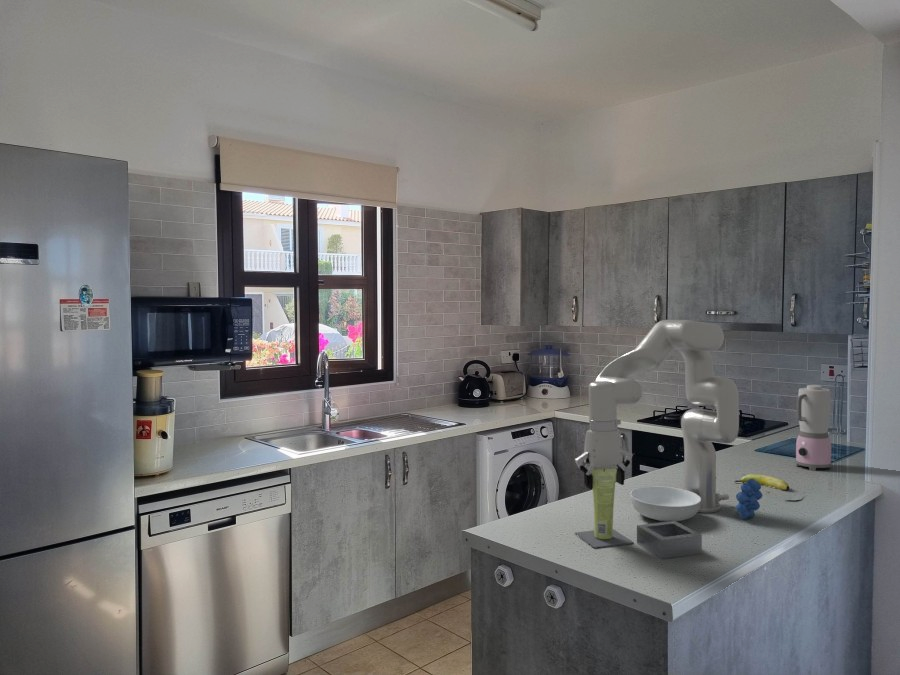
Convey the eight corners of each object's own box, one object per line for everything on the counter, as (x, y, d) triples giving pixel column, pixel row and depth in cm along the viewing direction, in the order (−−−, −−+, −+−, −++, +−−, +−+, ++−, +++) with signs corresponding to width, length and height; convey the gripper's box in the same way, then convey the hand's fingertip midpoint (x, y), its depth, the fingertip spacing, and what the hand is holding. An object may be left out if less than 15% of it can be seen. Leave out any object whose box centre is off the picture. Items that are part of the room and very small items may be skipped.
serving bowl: (654, 532, 195) (654, 508, 195) (617, 510, 215) (617, 489, 215) (716, 524, 201) (716, 501, 200) (674, 504, 221) (674, 483, 220)
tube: (601, 532, 194) (601, 465, 193) (617, 536, 191) (617, 468, 190) (590, 537, 190) (590, 469, 189) (606, 541, 187) (606, 471, 186)
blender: (810, 461, 273) (811, 383, 271) (838, 468, 262) (839, 386, 260) (782, 466, 266) (783, 385, 264) (810, 473, 255) (812, 389, 253)
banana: (830, 490, 236) (830, 479, 235) (796, 506, 218) (797, 494, 218) (733, 471, 262) (733, 461, 262) (696, 484, 245) (696, 474, 245)
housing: (674, 538, 190) (674, 520, 189) (701, 553, 178) (701, 535, 178) (636, 543, 186) (636, 525, 186) (661, 559, 175) (661, 540, 174)
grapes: (746, 510, 213) (747, 473, 212) (767, 516, 207) (767, 477, 206) (725, 518, 206) (725, 479, 205) (745, 524, 200) (746, 484, 200)
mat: (611, 529, 198) (611, 528, 198) (633, 543, 186) (633, 542, 186) (574, 534, 194) (574, 532, 194) (594, 548, 183) (594, 547, 183)
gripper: (623, 420, 194) (625, 478, 196) (568, 426, 190) (570, 485, 191) (637, 425, 187) (639, 485, 188) (581, 431, 183) (582, 493, 184)
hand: (604, 485), depth 190 cm, fingers open, 9 cm apart
